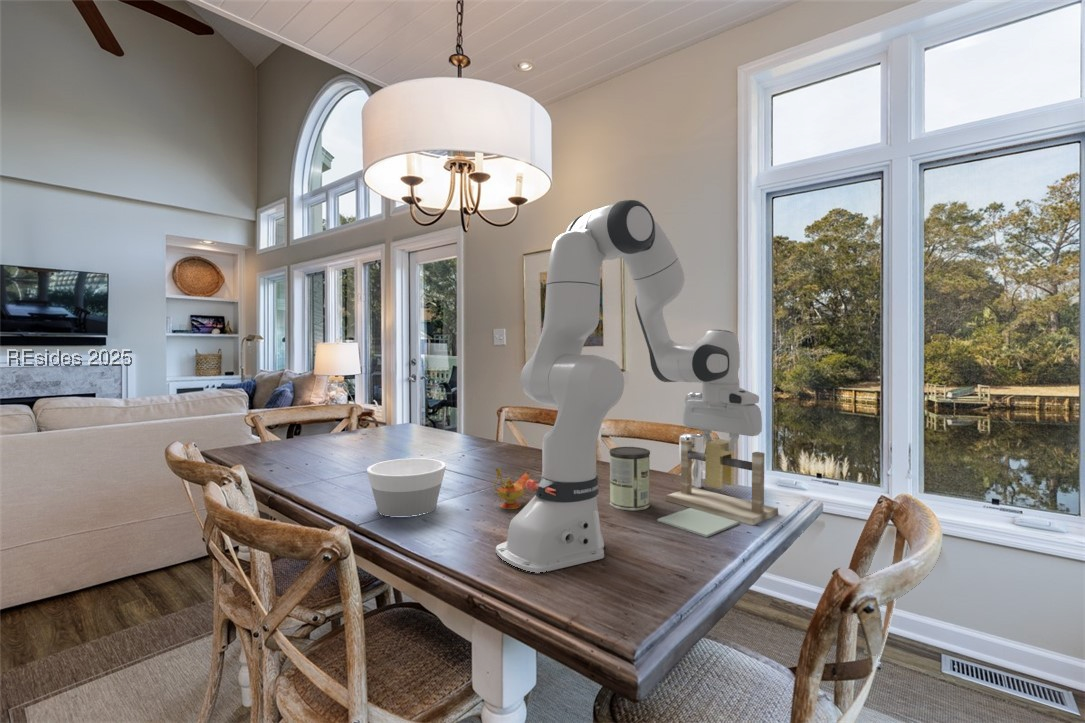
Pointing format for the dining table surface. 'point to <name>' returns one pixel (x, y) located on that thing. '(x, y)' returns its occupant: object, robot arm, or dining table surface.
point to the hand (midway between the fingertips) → (719, 449)
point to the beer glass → (696, 464)
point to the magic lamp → (511, 490)
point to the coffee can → (629, 478)
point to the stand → (718, 502)
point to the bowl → (406, 485)
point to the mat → (698, 522)
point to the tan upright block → (718, 464)
